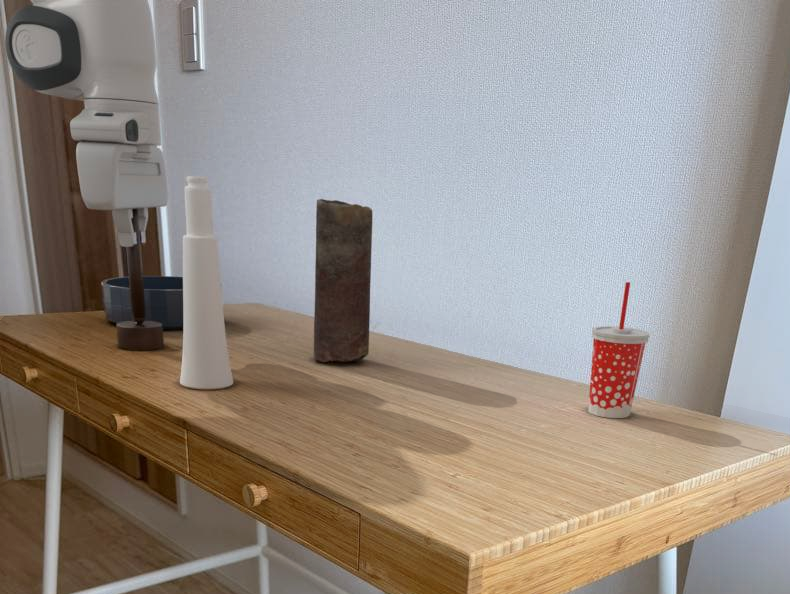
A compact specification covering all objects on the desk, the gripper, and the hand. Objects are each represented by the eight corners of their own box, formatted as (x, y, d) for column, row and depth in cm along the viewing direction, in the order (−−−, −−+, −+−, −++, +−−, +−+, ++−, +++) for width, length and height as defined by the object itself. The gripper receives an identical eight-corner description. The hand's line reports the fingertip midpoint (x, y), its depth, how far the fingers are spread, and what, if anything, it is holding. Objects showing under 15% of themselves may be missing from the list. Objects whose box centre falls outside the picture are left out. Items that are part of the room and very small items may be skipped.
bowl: (85, 326, 126) (81, 285, 124) (131, 309, 143) (128, 273, 140) (203, 334, 125) (201, 293, 123) (235, 316, 142) (234, 279, 139)
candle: (335, 352, 117) (337, 199, 109) (379, 360, 113) (385, 202, 105) (302, 360, 111) (302, 198, 103) (347, 369, 107) (351, 201, 99)
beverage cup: (602, 403, 97) (620, 278, 91) (647, 414, 93) (669, 284, 87) (569, 410, 93) (586, 280, 87) (616, 423, 89) (636, 287, 83)
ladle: (111, 348, 112) (97, 198, 104) (128, 341, 117) (116, 197, 110) (154, 351, 111) (143, 200, 104) (169, 343, 117) (160, 199, 109)
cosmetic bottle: (191, 391, 92) (179, 176, 84) (172, 380, 97) (159, 174, 88) (241, 387, 95) (235, 178, 87) (221, 376, 100) (213, 177, 91)
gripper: (131, 132, 113) (139, 239, 119) (62, 121, 95) (75, 249, 100) (176, 134, 113) (182, 241, 118) (116, 124, 94) (126, 252, 100)
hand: (133, 245), depth 109 cm, fingers closed on ladle
